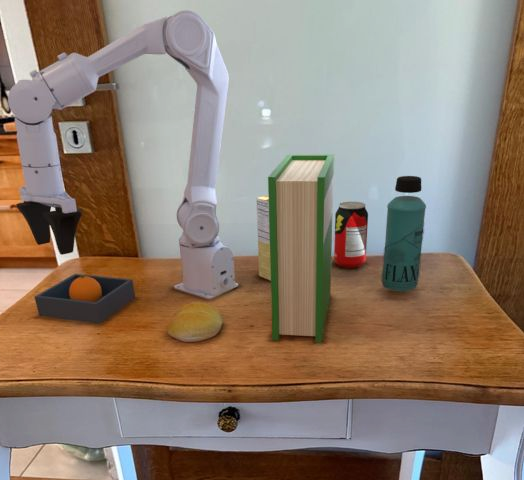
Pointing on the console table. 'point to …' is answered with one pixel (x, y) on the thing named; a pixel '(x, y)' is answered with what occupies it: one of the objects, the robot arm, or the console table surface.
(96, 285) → the orange
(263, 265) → the candy box
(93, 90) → the robot arm
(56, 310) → the dark gray tray
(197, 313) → the bread roll
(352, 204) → the beverage can
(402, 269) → the beverage bottle
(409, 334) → the console table surface
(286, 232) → the hardback book
